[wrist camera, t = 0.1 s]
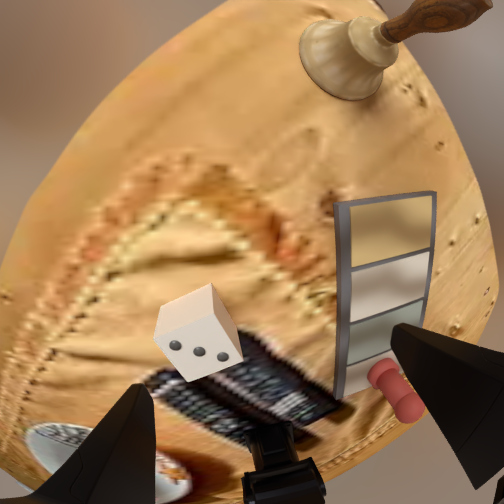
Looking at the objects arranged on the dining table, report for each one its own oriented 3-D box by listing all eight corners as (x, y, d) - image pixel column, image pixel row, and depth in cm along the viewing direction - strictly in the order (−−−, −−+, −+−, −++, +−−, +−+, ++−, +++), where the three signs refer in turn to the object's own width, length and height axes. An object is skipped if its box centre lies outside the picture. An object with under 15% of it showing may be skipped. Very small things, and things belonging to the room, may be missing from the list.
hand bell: (391, 98, 20) (539, 81, 5) (313, 105, 20) (476, 52, 5) (365, 23, 17) (485, -38, 2) (286, 21, 17) (385, -94, 2)
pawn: (390, 375, 30) (426, 420, 22) (365, 385, 30) (398, 435, 21) (395, 353, 29) (436, 399, 20) (369, 364, 28) (407, 416, 20)
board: (407, 364, 32) (412, 369, 31) (332, 394, 31) (336, 401, 30) (430, 190, 24) (437, 192, 23) (333, 203, 22) (339, 205, 21)
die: (236, 326, 25) (243, 361, 20) (189, 345, 25) (187, 383, 20) (211, 282, 23) (213, 313, 18) (161, 305, 23) (152, 339, 18)
